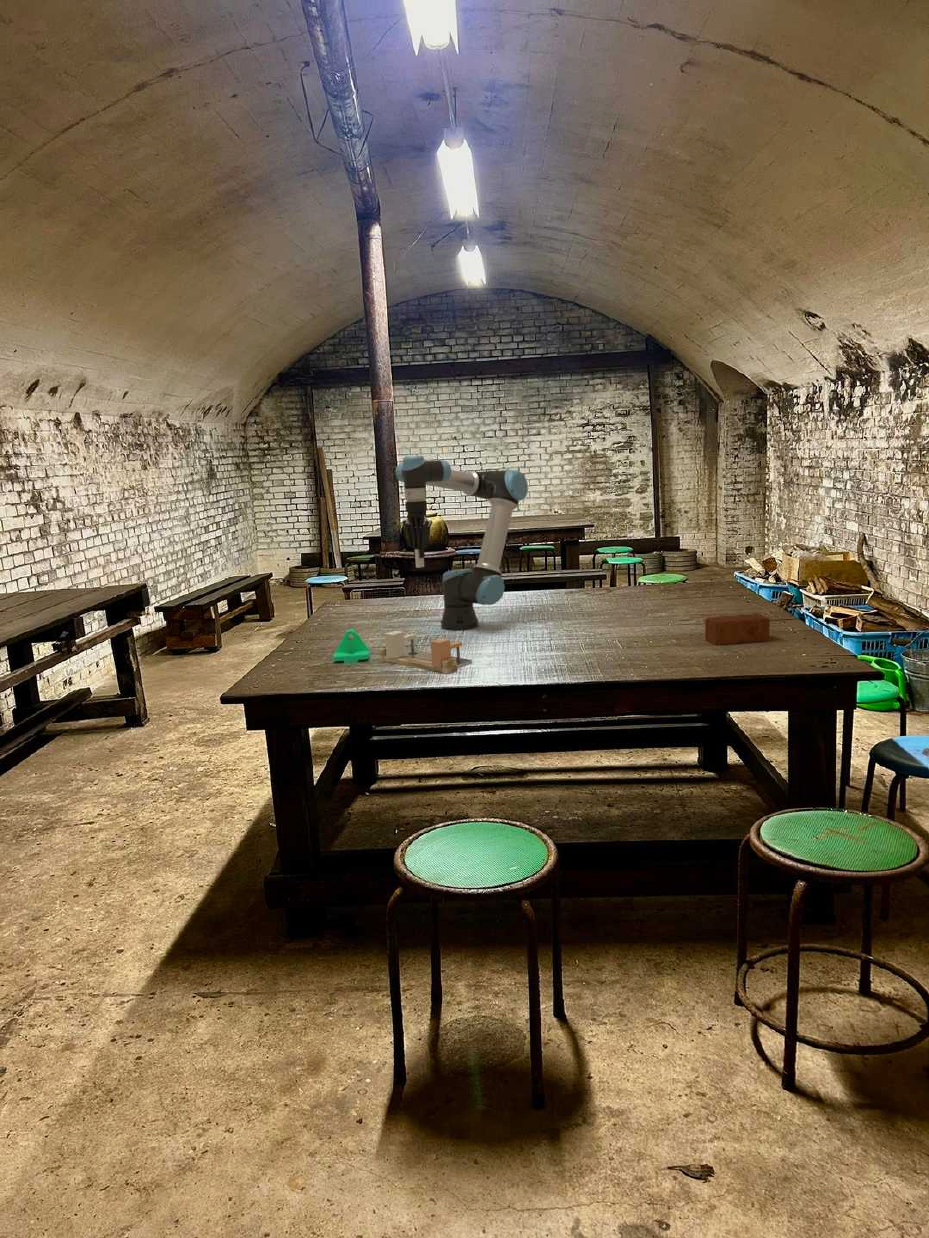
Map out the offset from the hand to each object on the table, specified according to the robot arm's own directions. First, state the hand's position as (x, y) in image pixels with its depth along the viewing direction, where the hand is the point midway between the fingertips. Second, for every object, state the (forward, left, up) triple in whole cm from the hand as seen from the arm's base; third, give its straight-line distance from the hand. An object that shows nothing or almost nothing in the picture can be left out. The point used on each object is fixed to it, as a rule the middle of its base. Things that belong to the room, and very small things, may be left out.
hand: (420, 567), depth 275 cm
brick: (-63, +90, -30) cm, 114 cm away
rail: (+20, +16, -29) cm, 39 cm away
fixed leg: (+17, +6, -28) cm, 33 cm away
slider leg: (+17, +28, -28) cm, 43 cm away
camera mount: (+27, -9, -30) cm, 41 cm away
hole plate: (+12, +16, -29) cm, 36 cm away
